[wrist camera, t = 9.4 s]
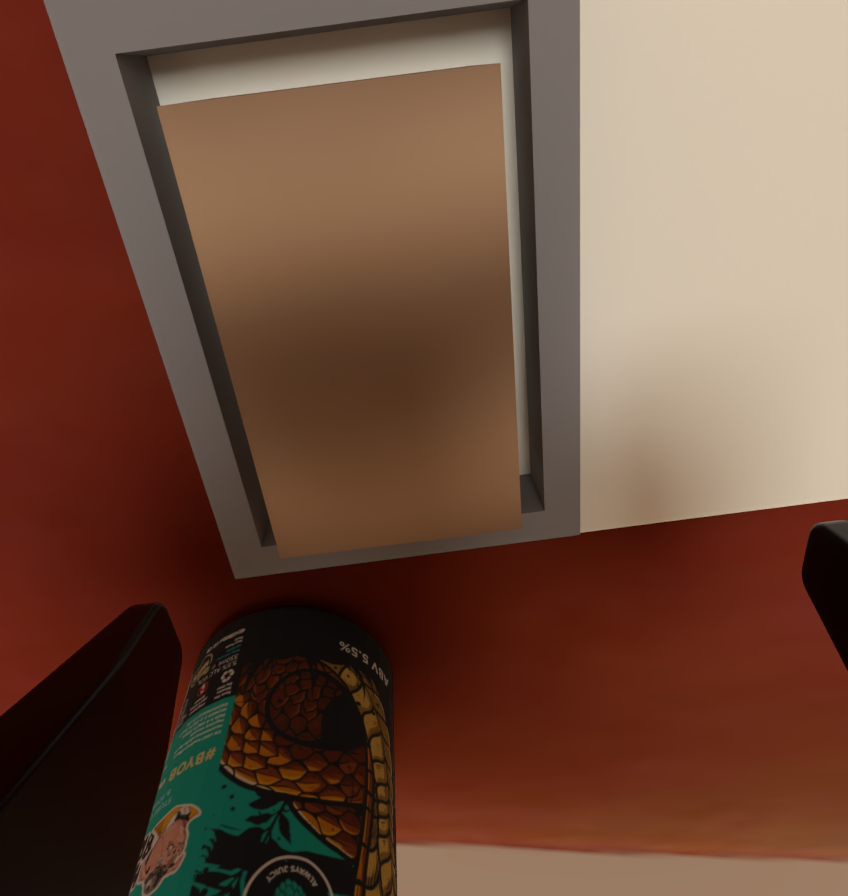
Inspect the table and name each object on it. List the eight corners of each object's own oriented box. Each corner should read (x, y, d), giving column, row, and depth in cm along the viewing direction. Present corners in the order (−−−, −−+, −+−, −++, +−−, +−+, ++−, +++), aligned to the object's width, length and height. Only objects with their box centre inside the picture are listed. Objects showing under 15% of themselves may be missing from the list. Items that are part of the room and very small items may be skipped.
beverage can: (429, 676, 25) (463, 1098, 15) (287, 752, 27) (229, 1180, 17) (309, 560, 22) (247, 987, 12) (158, 654, 24) (-13, 1100, 14)
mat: (1175, -226, 14) (1332, -284, 11) (950, 473, 22) (1016, 519, 20) (69, -76, 14) (9, -105, 12) (261, 562, 22) (247, 617, 20)
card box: (497, 449, 20) (521, 528, 16) (297, 474, 20) (280, 558, 16) (472, 65, 15) (500, 62, 12) (208, 99, 15) (156, 106, 12)
